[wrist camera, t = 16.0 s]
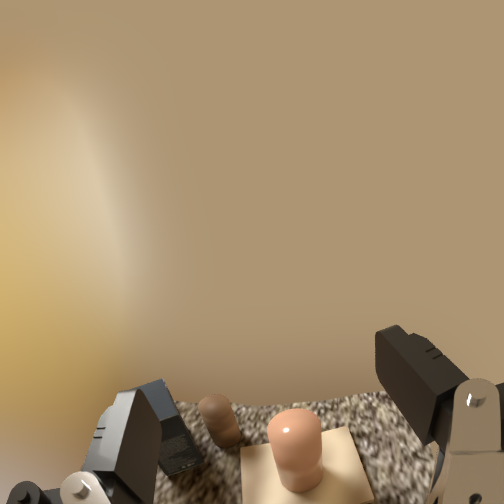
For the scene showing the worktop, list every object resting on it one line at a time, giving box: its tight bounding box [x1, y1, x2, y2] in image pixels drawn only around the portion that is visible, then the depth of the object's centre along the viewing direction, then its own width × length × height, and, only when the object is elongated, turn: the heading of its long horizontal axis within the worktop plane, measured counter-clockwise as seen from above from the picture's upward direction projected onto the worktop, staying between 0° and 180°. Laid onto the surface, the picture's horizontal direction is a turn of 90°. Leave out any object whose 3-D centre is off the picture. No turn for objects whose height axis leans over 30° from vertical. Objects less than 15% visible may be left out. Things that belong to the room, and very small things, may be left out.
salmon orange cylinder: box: [267, 409, 323, 492], centre depth 27 cm, size 5×5×10 cm
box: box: [130, 379, 204, 476], centre depth 34 cm, size 8×6×11 cm
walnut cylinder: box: [198, 394, 241, 448], centre depth 36 cm, size 4×4×7 cm
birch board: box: [240, 426, 374, 504], centre depth 28 cm, size 14×12×1 cm
